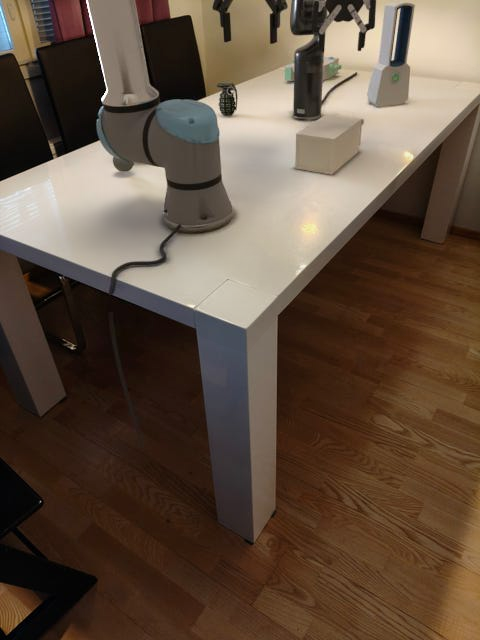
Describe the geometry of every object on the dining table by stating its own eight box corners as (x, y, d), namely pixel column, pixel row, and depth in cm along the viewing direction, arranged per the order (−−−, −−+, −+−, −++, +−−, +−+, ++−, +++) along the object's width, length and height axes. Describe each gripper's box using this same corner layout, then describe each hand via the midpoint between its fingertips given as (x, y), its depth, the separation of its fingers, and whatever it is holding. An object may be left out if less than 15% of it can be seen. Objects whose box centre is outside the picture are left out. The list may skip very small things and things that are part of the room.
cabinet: (323, 147, 139) (325, 114, 134) (358, 152, 135) (361, 118, 129) (295, 168, 128) (295, 133, 122) (331, 174, 123) (334, 138, 118)
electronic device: (375, 107, 168) (387, 4, 150) (365, 102, 174) (375, 2, 155) (407, 103, 170) (423, 1, 152) (396, 98, 176) (410, -1, 158)
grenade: (217, 117, 168) (214, 86, 162) (221, 112, 172) (219, 82, 166) (235, 117, 166) (233, 86, 160) (239, 113, 171) (238, 82, 165)
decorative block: (306, 53, 217) (348, 56, 208) (306, 69, 221) (346, 73, 212) (276, 65, 201) (319, 68, 192) (276, 82, 205) (318, 86, 196)
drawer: (337, 135, 144) (338, 111, 140) (366, 139, 140) (369, 114, 135) (303, 160, 129) (304, 133, 125) (336, 165, 125) (338, 138, 121)
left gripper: (302, -64, 113) (299, 41, 126) (210, -58, 123) (216, 38, 136) (289, -63, 108) (287, 46, 121) (194, -57, 118) (202, 43, 131)
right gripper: (378, -36, 107) (369, 47, 117) (313, -33, 109) (310, 49, 119) (382, -34, 101) (373, 53, 111) (313, -31, 103) (310, 55, 113)
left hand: (250, 42), depth 128 cm, fingers open, 13 cm apart
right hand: (340, 51), depth 115 cm, fingers open, 8 cm apart
